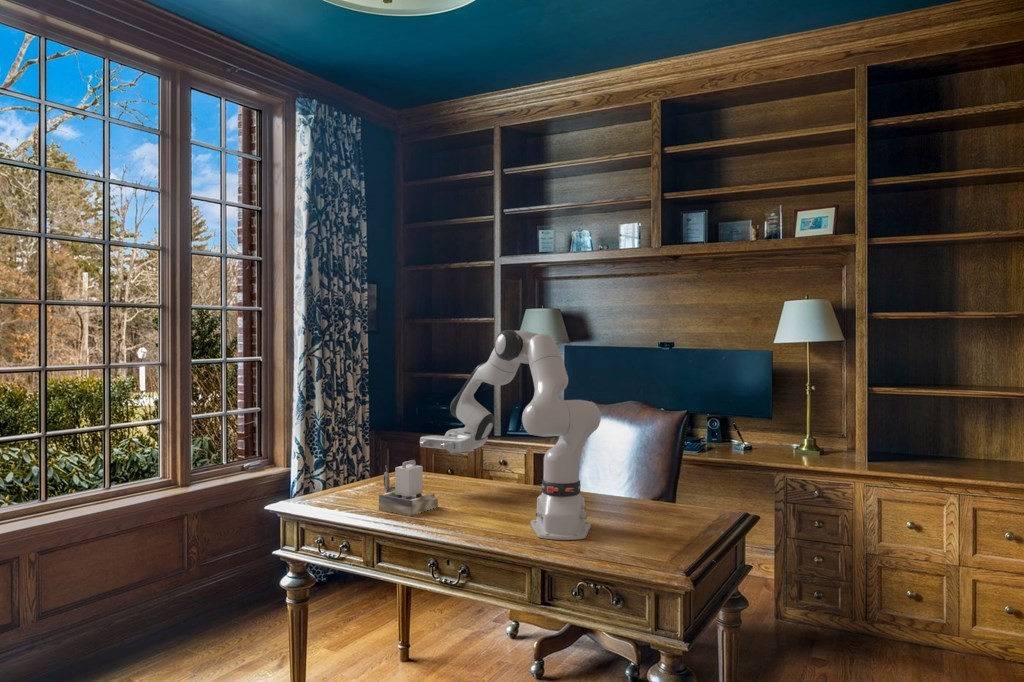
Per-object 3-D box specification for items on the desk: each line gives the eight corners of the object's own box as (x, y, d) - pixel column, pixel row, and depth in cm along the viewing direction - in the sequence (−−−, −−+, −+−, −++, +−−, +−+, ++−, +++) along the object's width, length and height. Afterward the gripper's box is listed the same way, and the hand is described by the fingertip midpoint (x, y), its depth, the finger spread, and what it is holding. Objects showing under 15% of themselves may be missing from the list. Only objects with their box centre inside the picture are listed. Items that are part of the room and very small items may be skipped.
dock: (406, 501, 241) (406, 487, 241) (437, 507, 233) (437, 492, 233) (378, 510, 229) (378, 495, 229) (410, 516, 222) (410, 501, 222)
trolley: (408, 495, 236) (409, 458, 236) (423, 498, 233) (423, 460, 232) (394, 500, 230) (394, 461, 230) (408, 502, 227) (409, 463, 226)
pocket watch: (408, 490, 257) (408, 464, 257) (392, 495, 250) (392, 468, 250) (392, 487, 262) (392, 461, 262) (376, 492, 255) (376, 465, 255)
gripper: (433, 430, 258) (409, 434, 247) (477, 434, 247) (454, 438, 236) (433, 447, 258) (409, 452, 246) (477, 451, 247) (454, 456, 236)
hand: (431, 445), depth 241 cm, fingers open, 8 cm apart
